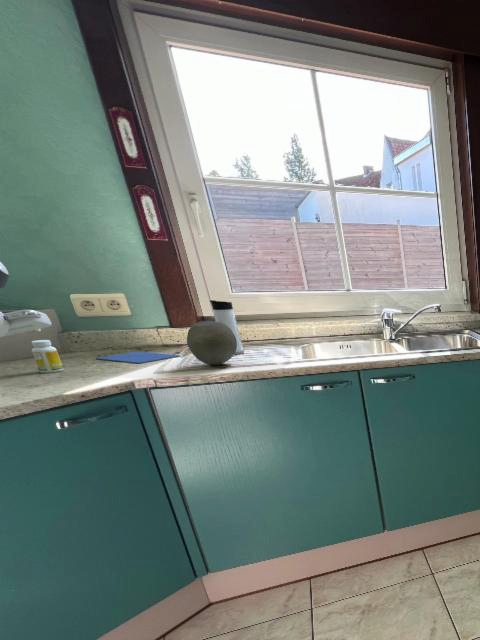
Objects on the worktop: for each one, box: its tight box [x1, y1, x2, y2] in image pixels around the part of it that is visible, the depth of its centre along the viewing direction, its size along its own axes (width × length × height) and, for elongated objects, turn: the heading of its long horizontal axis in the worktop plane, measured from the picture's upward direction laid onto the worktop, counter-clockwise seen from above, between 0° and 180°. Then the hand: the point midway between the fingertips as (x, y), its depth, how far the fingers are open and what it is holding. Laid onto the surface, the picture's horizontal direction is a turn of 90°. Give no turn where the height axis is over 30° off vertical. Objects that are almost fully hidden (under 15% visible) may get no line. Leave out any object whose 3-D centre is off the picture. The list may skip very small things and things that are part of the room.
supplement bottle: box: [31, 339, 64, 374], centre depth 155 cm, size 5×5×10 cm
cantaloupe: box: [186, 320, 237, 366], centre depth 168 cm, size 14×14×15 cm
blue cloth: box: [96, 351, 181, 365], centre depth 177 cm, size 20×14×1 cm
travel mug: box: [209, 299, 244, 356], centre depth 185 cm, size 6×7×20 cm
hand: (15, 333), depth 140 cm, fingers open, 8 cm apart
